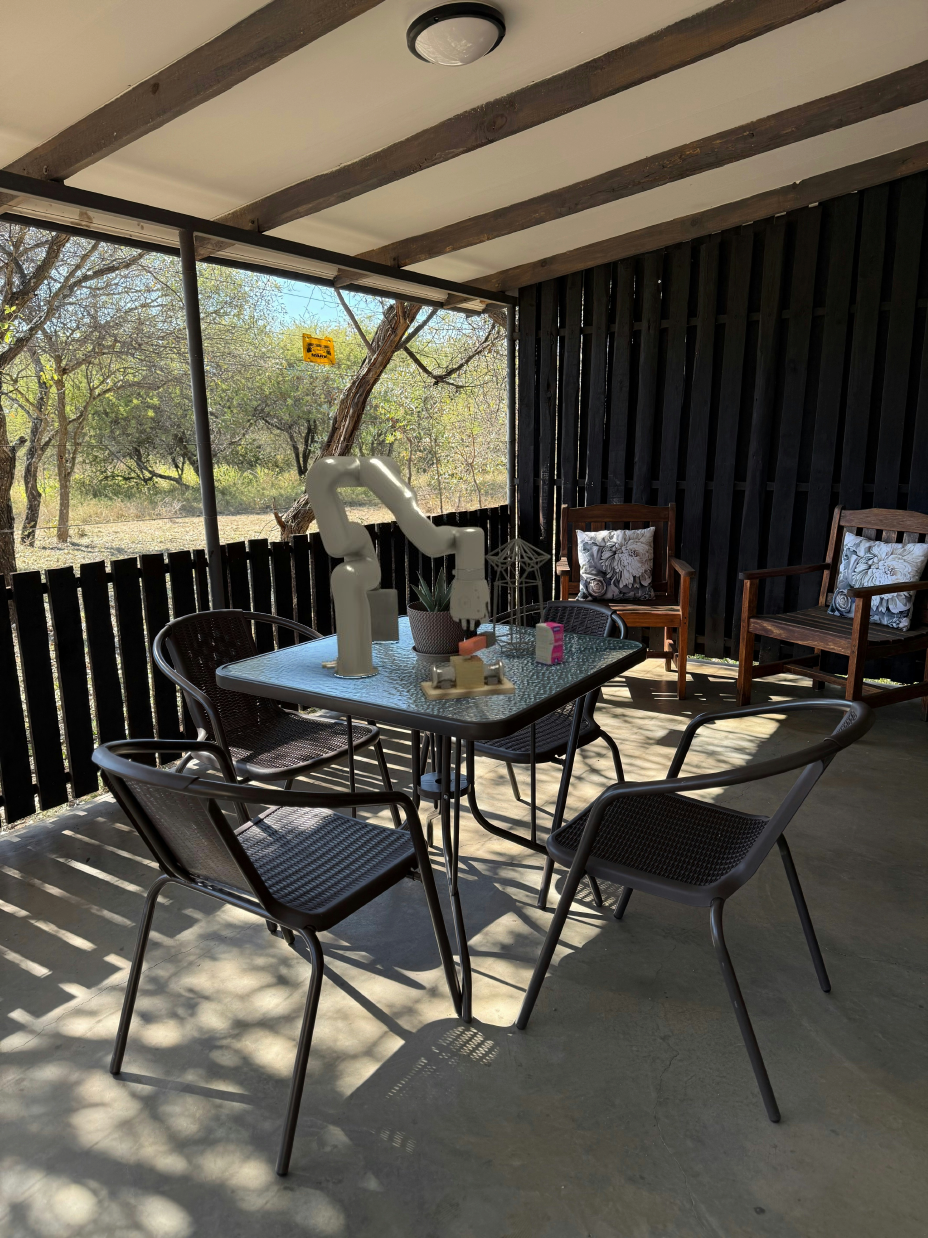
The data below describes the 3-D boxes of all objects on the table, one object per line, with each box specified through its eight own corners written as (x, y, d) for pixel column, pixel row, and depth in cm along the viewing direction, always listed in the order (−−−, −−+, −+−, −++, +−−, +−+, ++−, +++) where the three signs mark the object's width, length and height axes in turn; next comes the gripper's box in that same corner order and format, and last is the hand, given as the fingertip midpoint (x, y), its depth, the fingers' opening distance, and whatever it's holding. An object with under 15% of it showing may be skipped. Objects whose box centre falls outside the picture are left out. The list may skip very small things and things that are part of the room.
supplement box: (548, 666, 227) (548, 626, 225) (535, 663, 232) (534, 624, 230) (564, 663, 230) (563, 624, 228) (550, 659, 235) (549, 621, 233)
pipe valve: (435, 694, 198) (434, 664, 197) (429, 687, 206) (428, 658, 204) (505, 688, 202) (504, 659, 201) (497, 681, 209) (497, 653, 208)
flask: (399, 640, 270) (396, 581, 266) (399, 643, 264) (397, 583, 261) (354, 642, 268) (351, 583, 265) (353, 645, 263) (350, 585, 259)
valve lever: (469, 659, 200) (469, 643, 199) (456, 658, 202) (456, 642, 201) (496, 647, 214) (496, 631, 213) (484, 646, 215) (484, 630, 215)
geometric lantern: (521, 645, 255) (519, 535, 249) (555, 653, 243) (554, 537, 237) (482, 653, 246) (479, 539, 240) (515, 662, 234) (513, 541, 227)
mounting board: (428, 700, 196) (428, 694, 196) (420, 688, 208) (420, 682, 207) (515, 693, 200) (515, 687, 200) (503, 681, 212) (503, 676, 212)
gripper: (438, 575, 210) (439, 643, 213) (487, 578, 202) (487, 649, 205) (454, 571, 216) (455, 638, 220) (502, 575, 208) (502, 644, 211)
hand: (471, 643), depth 212 cm, fingers closed
